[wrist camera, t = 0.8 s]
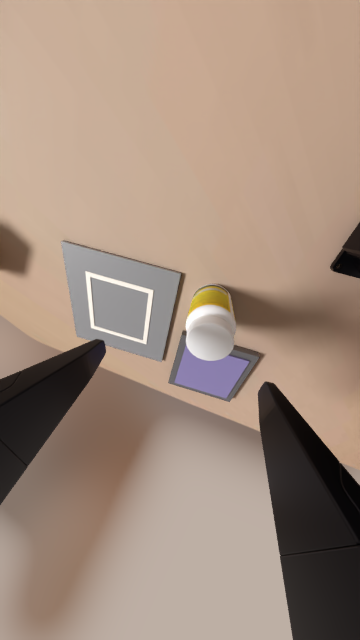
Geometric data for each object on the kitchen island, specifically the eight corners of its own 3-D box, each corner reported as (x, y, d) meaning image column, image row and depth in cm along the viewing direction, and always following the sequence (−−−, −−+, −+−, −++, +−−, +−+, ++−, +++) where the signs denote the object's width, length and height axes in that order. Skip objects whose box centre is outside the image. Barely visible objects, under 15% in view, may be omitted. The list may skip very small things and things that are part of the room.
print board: (181, 272, 20) (180, 274, 19) (162, 359, 28) (161, 362, 27) (64, 240, 20) (60, 241, 20) (78, 334, 28) (76, 336, 28)
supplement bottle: (185, 294, 21) (169, 332, 14) (219, 275, 19) (221, 308, 12) (204, 323, 23) (199, 370, 15) (238, 308, 21) (249, 354, 13)
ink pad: (258, 352, 23) (260, 358, 22) (229, 396, 29) (229, 403, 28) (182, 330, 24) (181, 335, 23) (169, 378, 30) (167, 384, 29)
